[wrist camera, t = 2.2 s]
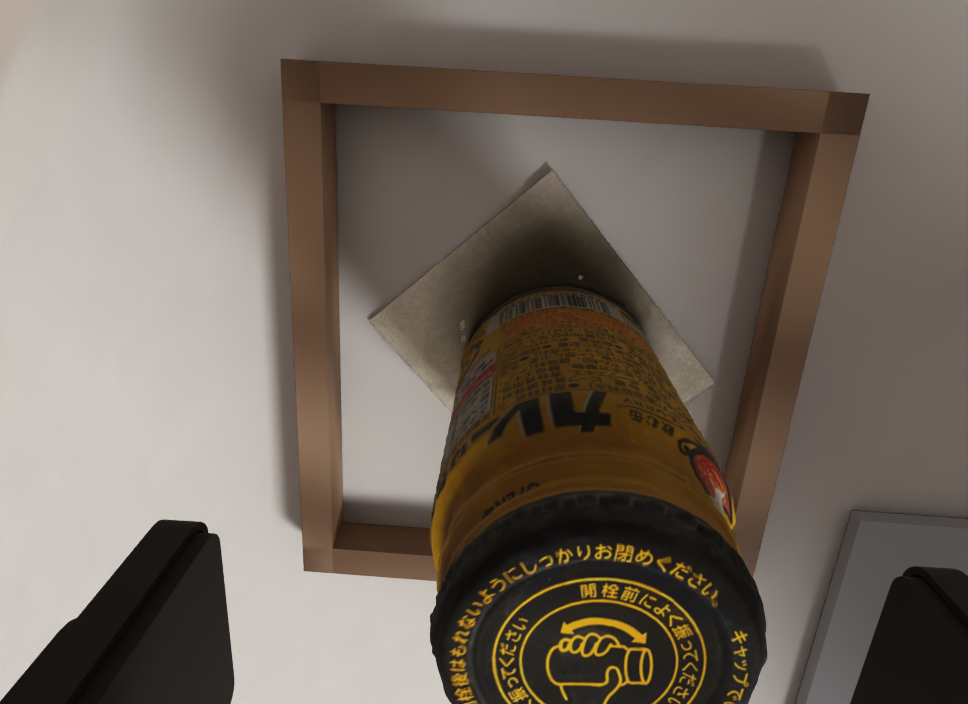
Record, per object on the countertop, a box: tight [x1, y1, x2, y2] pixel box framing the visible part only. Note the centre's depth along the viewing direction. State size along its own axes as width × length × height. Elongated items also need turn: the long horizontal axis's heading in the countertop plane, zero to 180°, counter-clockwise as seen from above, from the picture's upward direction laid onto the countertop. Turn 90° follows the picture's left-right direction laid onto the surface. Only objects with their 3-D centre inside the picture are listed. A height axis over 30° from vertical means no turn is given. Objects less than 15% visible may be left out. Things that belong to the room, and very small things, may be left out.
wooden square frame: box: [281, 59, 870, 581], centre depth 20 cm, size 16×15×2 cm
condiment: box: [369, 170, 767, 704], centre depth 15 cm, size 7×8×12 cm
